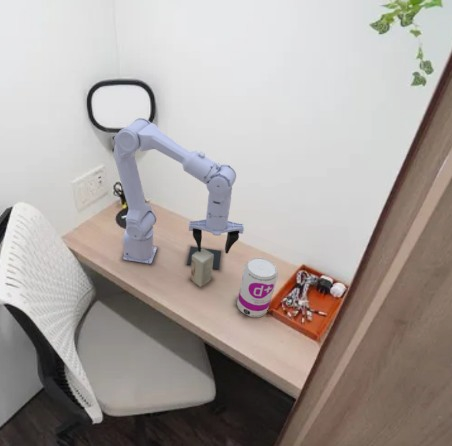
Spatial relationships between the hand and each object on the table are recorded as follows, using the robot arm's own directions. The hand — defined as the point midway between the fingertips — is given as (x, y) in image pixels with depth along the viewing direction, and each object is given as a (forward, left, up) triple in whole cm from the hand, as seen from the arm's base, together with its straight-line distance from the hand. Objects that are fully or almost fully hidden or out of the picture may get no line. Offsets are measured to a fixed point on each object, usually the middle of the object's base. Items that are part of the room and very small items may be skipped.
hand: (212, 250), depth 96 cm
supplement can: (+13, -9, -10) cm, 19 cm away
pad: (-2, +8, -10) cm, 13 cm away
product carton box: (-2, -2, -10) cm, 11 cm away
